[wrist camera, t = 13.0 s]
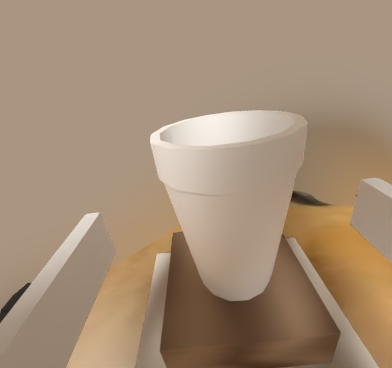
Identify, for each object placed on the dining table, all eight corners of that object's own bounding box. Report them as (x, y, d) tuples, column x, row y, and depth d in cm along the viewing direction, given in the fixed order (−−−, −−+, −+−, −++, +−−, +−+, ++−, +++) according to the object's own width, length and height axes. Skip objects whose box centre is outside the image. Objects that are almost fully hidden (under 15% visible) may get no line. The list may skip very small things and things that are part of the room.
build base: (293, 246, 27) (296, 211, 25) (378, 385, 15) (402, 345, 13) (159, 262, 28) (149, 230, 26) (134, 407, 16) (111, 374, 13)
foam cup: (198, 230, 24) (179, 116, 19) (283, 236, 22) (293, 105, 16) (168, 309, 16) (118, 154, 11) (297, 335, 14) (326, 144, 8)
